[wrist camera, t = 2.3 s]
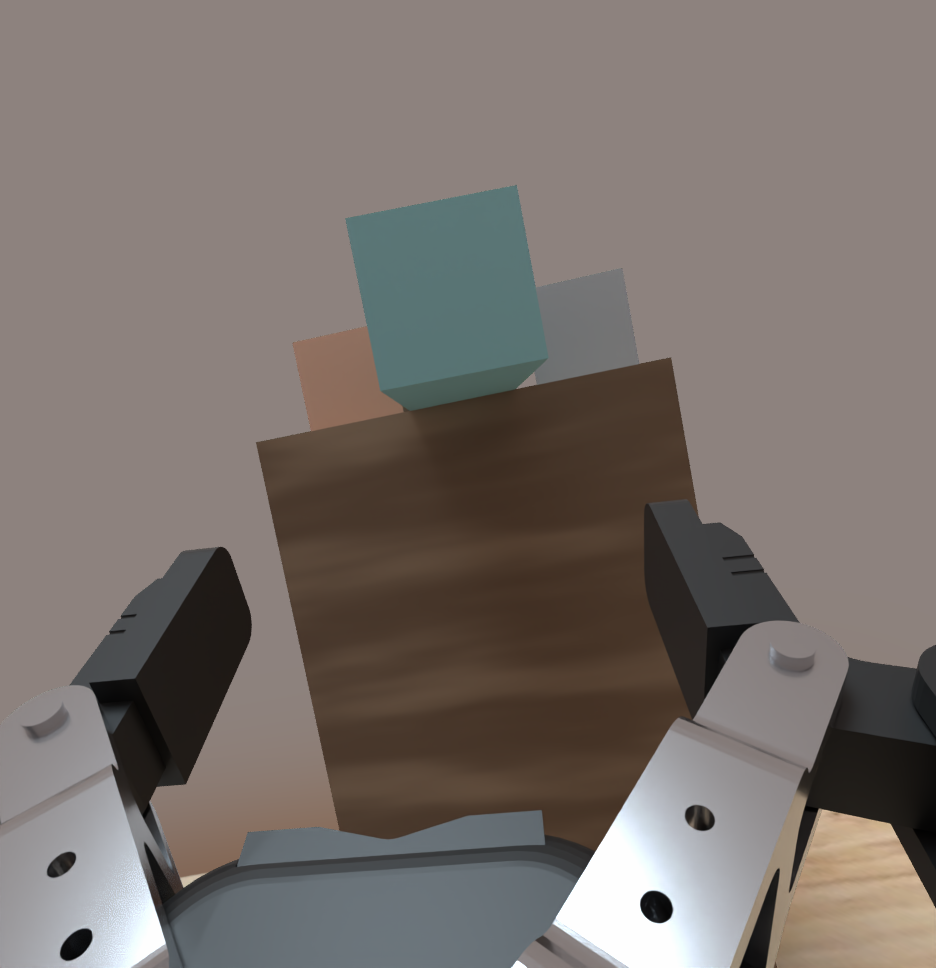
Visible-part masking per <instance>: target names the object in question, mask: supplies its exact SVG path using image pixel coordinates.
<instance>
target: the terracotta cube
mask: <svg viewBox="0 0 936 968" xmlns="http://www.w3.org/2000/svg"><path fill="white" fill-rule="evenodd" d="M293 347H294V352H295V357H296V361H297V367H298V371H299V376H300V381H301V385H302V390H303V395H304V400H305V405H306V409H307V414H308V419H309V424H310V428H311V431H315V430H320V429H324V428H329V427H334V426H339V425H344V424H349V423H354V422H359V421H364V420H368V419H373V418H378V417H383V416H388V415H393V414H398V413H403V412H407V411H409V410H408V409H406V408H405V407H403V406H402V405H400V404H399V403H397V402H396V401H394V400H393V399H391V398H390V397H389V396H387V395H386V394H384V393H383V392H381V391H380V387H379V382H378V377H377V372H376V367H375V362H374V357H373V352H372V347H371V343H370V338H369V333H368V328H367V326H366V327H361V328H357V329H352V330H347V331H343V332H339V333H335V334H330V335H325V336H320V337H316V338H311V339H307V340H302V341H298V342H293Z"/></svg>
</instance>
